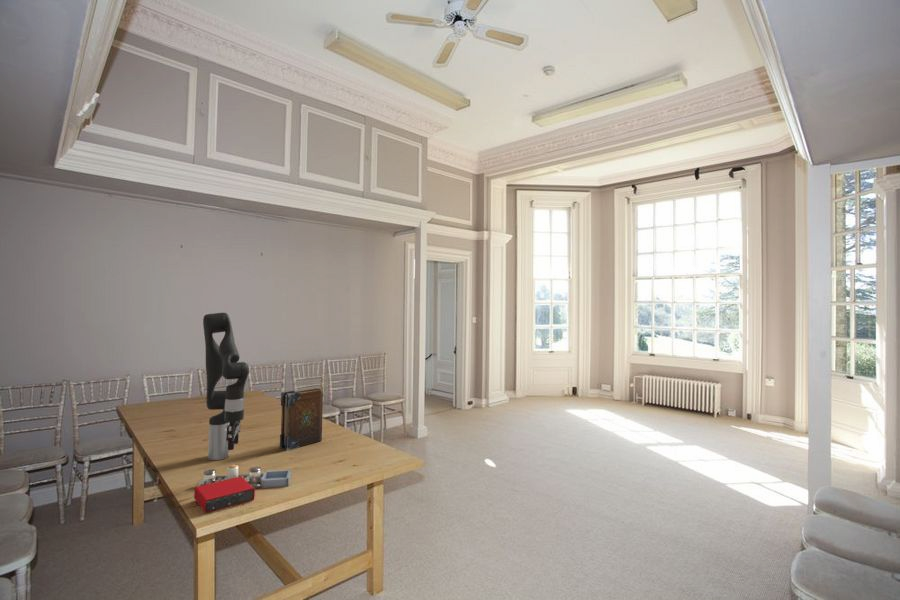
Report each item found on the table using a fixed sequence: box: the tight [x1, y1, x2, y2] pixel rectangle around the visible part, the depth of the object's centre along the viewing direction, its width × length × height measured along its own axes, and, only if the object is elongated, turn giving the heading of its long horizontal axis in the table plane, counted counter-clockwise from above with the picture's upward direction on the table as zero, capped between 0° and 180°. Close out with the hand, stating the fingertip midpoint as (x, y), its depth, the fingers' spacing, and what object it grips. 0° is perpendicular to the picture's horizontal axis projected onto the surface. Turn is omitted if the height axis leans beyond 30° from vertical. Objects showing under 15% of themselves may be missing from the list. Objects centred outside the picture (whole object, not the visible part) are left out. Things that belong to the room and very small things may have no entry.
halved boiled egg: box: [226, 464, 239, 479], centre depth 193 cm, size 4×4×7 cm
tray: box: [260, 469, 292, 489], centre depth 195 cm, size 11×11×3 cm
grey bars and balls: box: [196, 466, 264, 489], centre depth 191 cm, size 19×26×6 cm
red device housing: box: [193, 476, 256, 514], centre depth 176 cm, size 18×14×5 cm
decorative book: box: [279, 387, 324, 452], centre depth 249 cm, size 23×7×30 cm, turn 143°
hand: (233, 446), depth 193 cm, fingers open, 8 cm apart
